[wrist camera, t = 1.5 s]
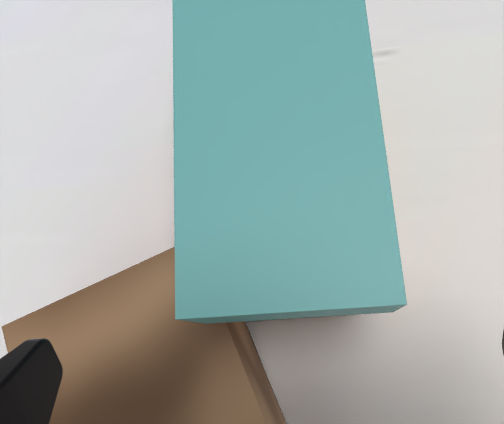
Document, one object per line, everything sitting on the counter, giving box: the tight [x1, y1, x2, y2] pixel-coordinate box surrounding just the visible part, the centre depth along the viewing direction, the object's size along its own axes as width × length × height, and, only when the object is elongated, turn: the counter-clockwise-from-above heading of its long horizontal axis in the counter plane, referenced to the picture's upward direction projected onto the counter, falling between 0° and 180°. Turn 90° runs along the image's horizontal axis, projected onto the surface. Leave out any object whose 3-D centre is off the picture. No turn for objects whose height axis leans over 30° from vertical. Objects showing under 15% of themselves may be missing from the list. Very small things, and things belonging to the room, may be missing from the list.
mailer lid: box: [173, 0, 407, 324], centre depth 17 cm, size 13×7×4 cm, turn 3°
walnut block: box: [2, 247, 286, 424], centre depth 21 cm, size 10×9×4 cm
